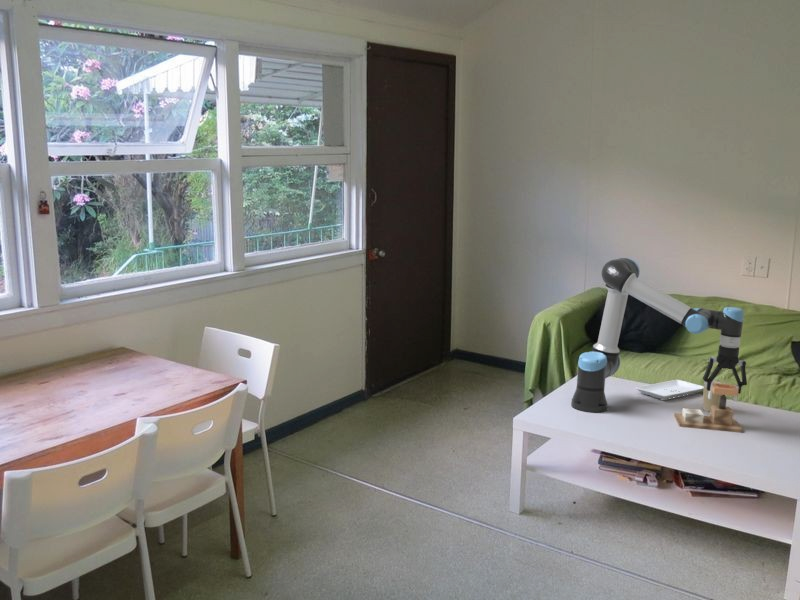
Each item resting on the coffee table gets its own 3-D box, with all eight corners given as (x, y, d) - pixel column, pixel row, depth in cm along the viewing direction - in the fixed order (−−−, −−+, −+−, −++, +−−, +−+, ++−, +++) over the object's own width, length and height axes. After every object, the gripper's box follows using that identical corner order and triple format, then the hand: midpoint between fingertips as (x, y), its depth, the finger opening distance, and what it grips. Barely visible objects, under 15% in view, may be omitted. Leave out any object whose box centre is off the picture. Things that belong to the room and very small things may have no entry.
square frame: (713, 393, 294) (714, 388, 294) (709, 387, 303) (710, 381, 303) (737, 396, 293) (738, 390, 292) (732, 389, 301) (733, 384, 301)
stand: (679, 426, 297) (682, 397, 295) (674, 415, 310) (676, 387, 308) (742, 432, 292) (746, 403, 290) (734, 421, 305) (737, 393, 303)
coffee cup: (726, 414, 315) (729, 387, 313) (703, 412, 317) (706, 385, 315) (721, 407, 324) (724, 381, 322) (698, 405, 326) (701, 379, 324)
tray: (633, 393, 342) (634, 386, 341) (676, 385, 359) (677, 378, 358) (664, 403, 328) (665, 396, 327) (707, 394, 345) (708, 387, 344)
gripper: (702, 345, 293) (695, 399, 297) (760, 350, 289) (753, 405, 293) (699, 341, 300) (692, 394, 304) (755, 346, 296) (748, 399, 300)
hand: (722, 399), depth 298 cm, fingers closed on square frame, 9 cm apart
